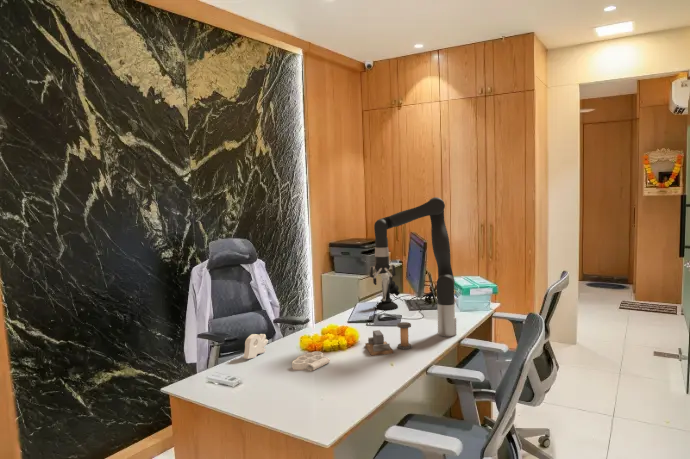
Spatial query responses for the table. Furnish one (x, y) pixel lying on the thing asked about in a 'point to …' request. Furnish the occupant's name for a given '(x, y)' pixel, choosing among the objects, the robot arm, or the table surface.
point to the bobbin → (404, 335)
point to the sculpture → (388, 294)
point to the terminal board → (378, 347)
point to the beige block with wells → (310, 361)
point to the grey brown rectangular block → (377, 337)
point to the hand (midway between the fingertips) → (382, 284)
